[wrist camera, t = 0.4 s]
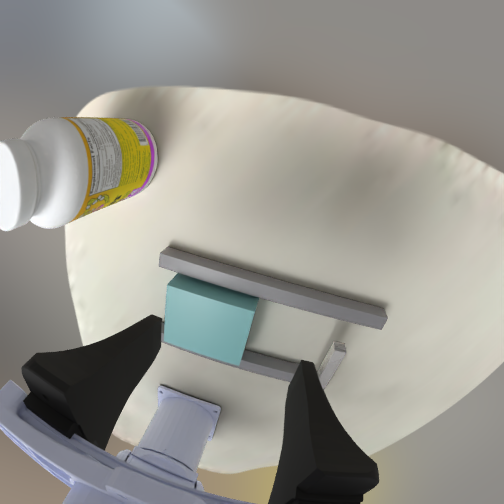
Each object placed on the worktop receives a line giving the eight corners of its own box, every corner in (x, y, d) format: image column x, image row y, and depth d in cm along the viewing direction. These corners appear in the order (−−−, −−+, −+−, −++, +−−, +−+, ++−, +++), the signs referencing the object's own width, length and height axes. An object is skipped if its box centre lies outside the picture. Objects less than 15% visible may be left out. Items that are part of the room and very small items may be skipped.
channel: (341, 382, 25) (342, 392, 24) (161, 330, 27) (154, 339, 25) (383, 308, 22) (387, 318, 20) (167, 246, 23) (160, 253, 22)
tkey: (305, 404, 26) (302, 456, 20) (293, 401, 26) (287, 454, 20) (345, 335, 22) (353, 394, 16) (330, 332, 22) (335, 391, 16)
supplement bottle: (98, 193, 23) (-18, 240, 11) (100, 121, 20) (-25, 130, 8) (159, 199, 22) (38, 261, 10) (165, 118, 19) (31, 111, 7)
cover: (246, 343, 26) (239, 366, 23) (177, 321, 26) (163, 341, 23) (261, 291, 24) (254, 311, 21) (182, 268, 24) (167, 285, 21)
